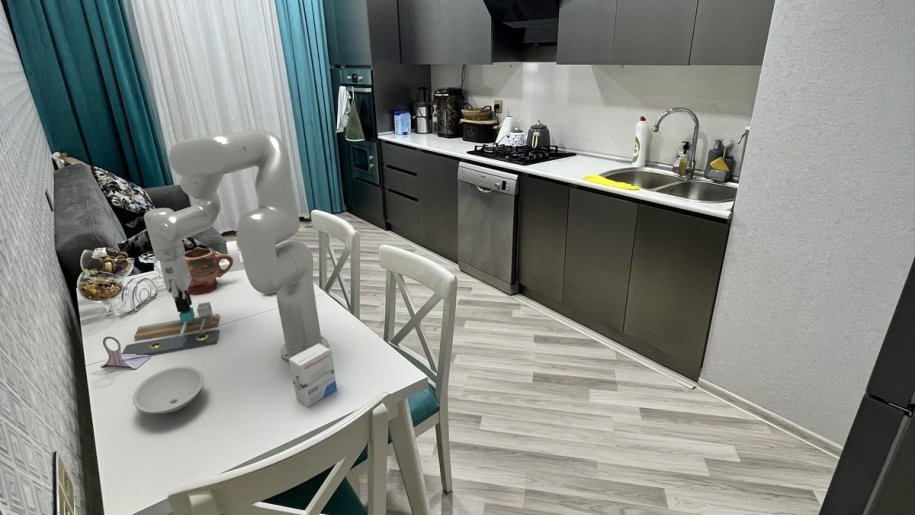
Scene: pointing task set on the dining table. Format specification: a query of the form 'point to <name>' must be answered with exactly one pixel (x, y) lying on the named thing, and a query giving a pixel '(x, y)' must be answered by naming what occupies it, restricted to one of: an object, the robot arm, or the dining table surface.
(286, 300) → the robot arm
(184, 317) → the sliding leg
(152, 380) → the dish
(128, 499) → the dining table surface
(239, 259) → the tape dispenser
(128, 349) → the hole plate
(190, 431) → the dining table surface
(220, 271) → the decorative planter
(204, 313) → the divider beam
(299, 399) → the ink box
